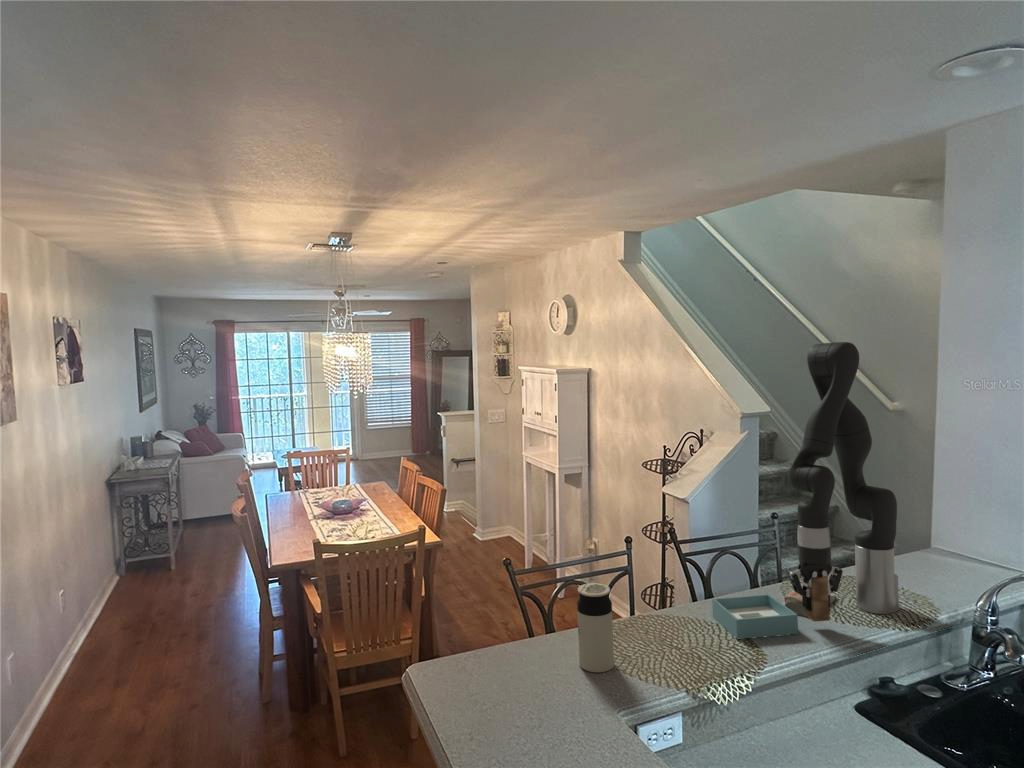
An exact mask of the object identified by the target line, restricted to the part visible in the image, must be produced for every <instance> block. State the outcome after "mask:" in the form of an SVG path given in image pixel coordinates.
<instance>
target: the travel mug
mask: <svg viewBox="0 0 1024 768" xmlns="http://www.w3.org/2000/svg"><path fill="white" fill-rule="evenodd" d="M577 592H578V595H579V598H578V600H577V602H576V604H577V605H576V606H577V609H576V611H577V631H578V632H577V633H578V634H577V635H578V658H579V667H580V668H582V669H583V670H585V671H587V672H589V673H605V672H608V671H610V670H612V669H613V668H614V666H615V653H614V649H615V648H614V631H613V630H614V629H613V627H614V626H613V625H614V624H613V603H612V600H611V598H610V592H611V588H610V587H609V585H606V584H605V583H602V584H601V583H599V582H598V583H597V582H596V583H595V582H592V583H591V582H590V583H584V584H582V585H580V586H578V588H577Z"/></svg>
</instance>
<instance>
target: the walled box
mask: <svg viewBox="0 0 1024 768" xmlns="http://www.w3.org/2000/svg"><path fill="white" fill-rule="evenodd" d="M782 603H783V602H780V601H779V600H778V599H777V598H775V597H773V596H772V595H770V594H768V593H767V594H766V593H765V594H755V595H742V596H732V597H731V596H729V597H720V598H712V618H713V619H714V620H715V621H717V622H718V623H719V625H720V626H721V627H723V628H724V627H725V628H726V629H727V630H728V631H729V632H730V633H731V634H732V635H734V636H735V637H736V638H737V639H738V638H752V639H754V638H753V637H763V638H765V637H764V636H774V637H778V636H777V635H786V636H789V635H788V634H797V635H799V624H798V623H799V622H798V616H799V615H798V614H796V613H794V612H793V611H792V610H790V609H789V608H787V607H786V606H785V605H783V604H782ZM725 628H724V629H725ZM726 629H725V630H726ZM727 630H726V631H727ZM728 631H727V632H728ZM729 632H728V633H729ZM730 633H729V634H730ZM731 634H730V635H731ZM732 635H731V636H732ZM736 638H735V639H736ZM737 639H736V640H737Z"/></svg>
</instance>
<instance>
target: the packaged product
mask: <svg viewBox="0 0 1024 768" xmlns="http://www.w3.org/2000/svg"><path fill="white" fill-rule="evenodd" d="M801 586H802V583H801ZM836 596H837V594H836V593H831V594H830V605H831V604H832V603H833V602H834V601H835V600H836ZM783 598H784V601H783V602H781V603H782V604H783V605H785V606H786V607H787V608H789V609H790V610H792V611H793V612H794V613H796V614H797V615H798V614H799V615H798V616H803V617H806V616H805V608H804V607H803V601H802V596H801V595H799V594H798V593H796V592H795V591H794V589H793V590H791V591H790V592H789V593H787V594H786V595H785V596H784V597H783Z"/></svg>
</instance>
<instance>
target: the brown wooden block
mask: <svg viewBox="0 0 1024 768" xmlns="http://www.w3.org/2000/svg"><path fill="white" fill-rule="evenodd" d="M828 580H829V576H828V577H822V576H820V577H816V578H812V589H811V596H810V597H811V604H812V611H807V610H806V609H805V616H804V617H806V616H807V617H806V618H808V619H810V620H811V621H812V622H814V623H815V622H823V621H829V620H830V609H829V608H830V607H829V602H828ZM805 581H806V580H805ZM806 583H808V584H809V582H808V581H806Z"/></svg>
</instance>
